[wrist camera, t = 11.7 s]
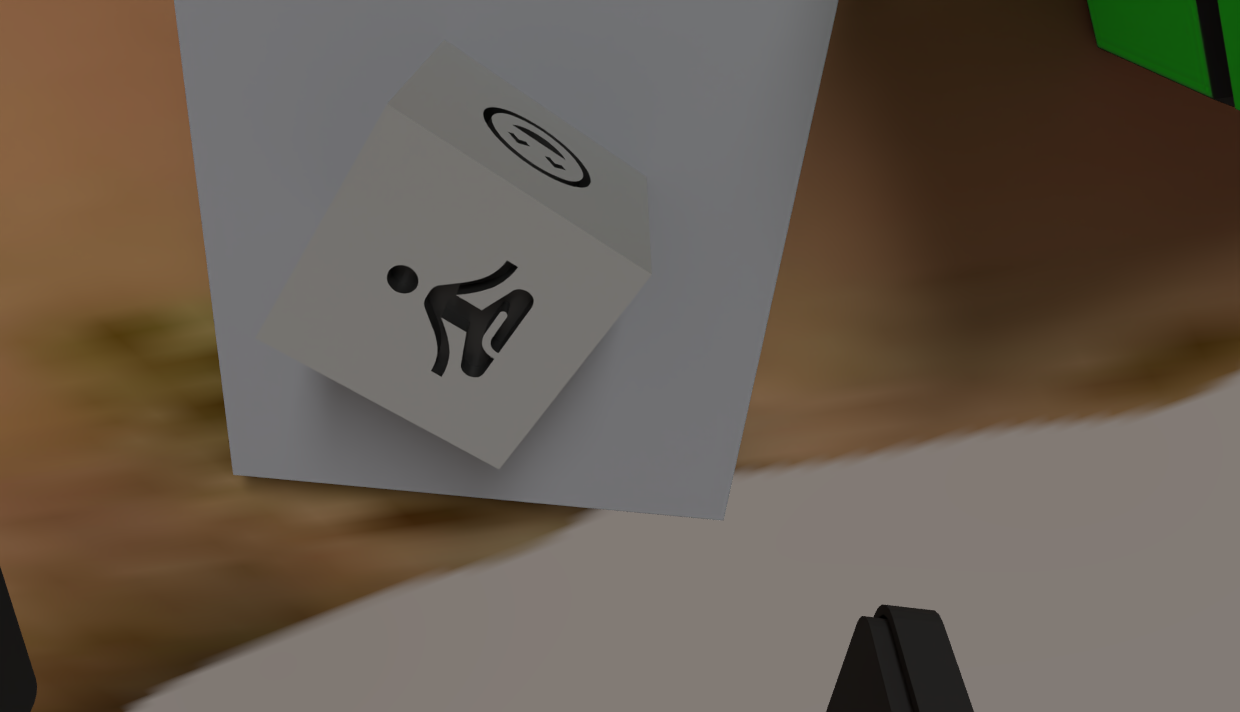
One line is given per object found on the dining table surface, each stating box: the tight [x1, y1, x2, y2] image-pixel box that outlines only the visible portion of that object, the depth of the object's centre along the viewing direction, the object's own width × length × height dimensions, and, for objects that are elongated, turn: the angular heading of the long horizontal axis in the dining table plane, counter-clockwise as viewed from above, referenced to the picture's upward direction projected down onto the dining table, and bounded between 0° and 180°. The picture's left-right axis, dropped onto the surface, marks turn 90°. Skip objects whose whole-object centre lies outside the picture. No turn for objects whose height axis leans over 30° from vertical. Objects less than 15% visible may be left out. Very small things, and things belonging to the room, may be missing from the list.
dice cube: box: [256, 40, 652, 469], centre depth 18 cm, size 5×5×5 cm
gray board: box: [174, 0, 838, 520], centre depth 21 cm, size 13×15×1 cm
